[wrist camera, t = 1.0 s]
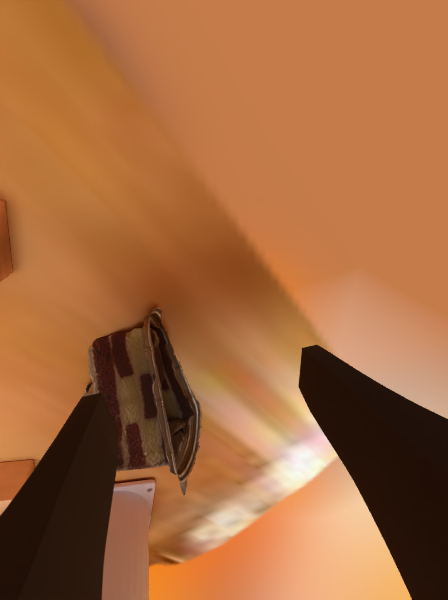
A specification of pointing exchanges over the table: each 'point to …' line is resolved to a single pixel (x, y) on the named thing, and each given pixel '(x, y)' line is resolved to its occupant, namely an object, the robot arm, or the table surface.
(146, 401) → the chocolate cake
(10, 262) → the shelf board
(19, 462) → the shelf board
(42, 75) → the table surface
